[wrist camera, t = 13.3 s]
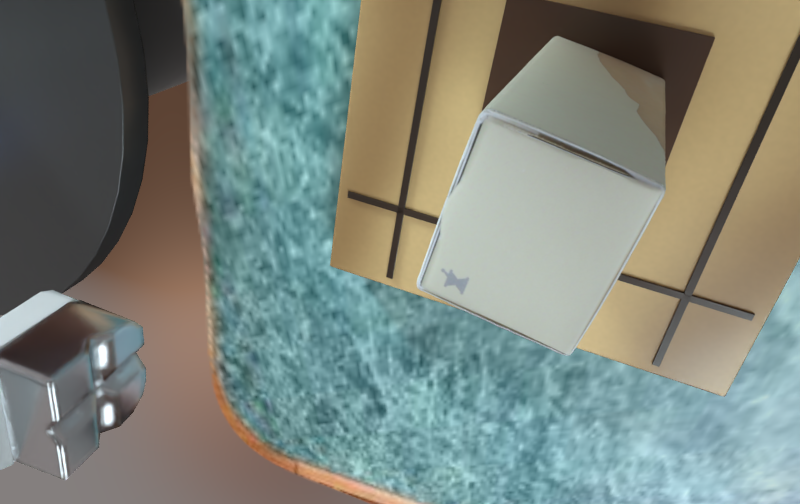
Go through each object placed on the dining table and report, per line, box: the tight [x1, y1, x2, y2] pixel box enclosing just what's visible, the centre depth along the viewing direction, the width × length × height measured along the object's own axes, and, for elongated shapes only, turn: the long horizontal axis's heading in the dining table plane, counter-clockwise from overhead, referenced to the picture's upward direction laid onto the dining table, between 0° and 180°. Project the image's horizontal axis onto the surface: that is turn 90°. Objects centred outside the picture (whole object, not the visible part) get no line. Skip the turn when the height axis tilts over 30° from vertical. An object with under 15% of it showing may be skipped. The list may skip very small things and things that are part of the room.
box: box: [417, 36, 666, 355], centre depth 20 cm, size 5×4×11 cm
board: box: [330, 0, 800, 396], centre depth 25 cm, size 18×20×2 cm
